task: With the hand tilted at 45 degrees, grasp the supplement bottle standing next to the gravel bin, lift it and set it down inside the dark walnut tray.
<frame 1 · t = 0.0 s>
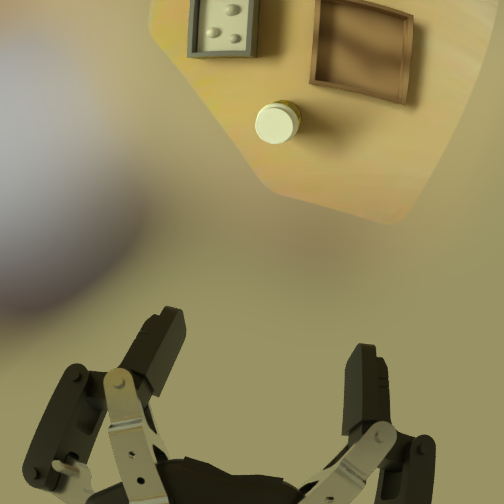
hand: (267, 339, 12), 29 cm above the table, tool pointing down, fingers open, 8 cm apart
gravel bin: (227, 25, 25), on the table
supplement bottle: (283, 116, 32), on the table
walnut tray: (360, 47, 24), on the table
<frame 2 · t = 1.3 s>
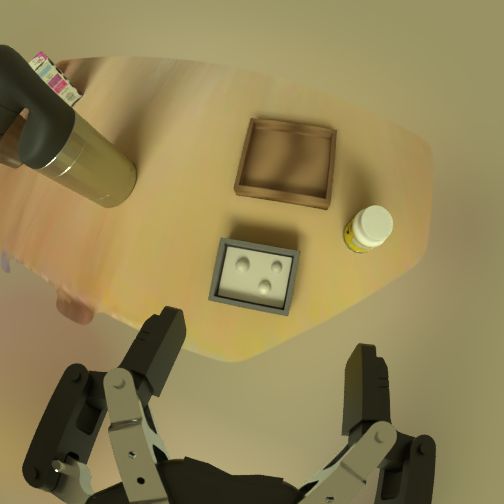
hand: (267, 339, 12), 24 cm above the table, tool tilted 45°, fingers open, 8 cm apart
gravel bin: (256, 277, 37), on the table
plant pot: (24, 148, 48), on the table
supplement bottle: (358, 237, 36), on the table
walnut tray: (287, 164, 38), on the table
candy bar box: (71, 95, 49), on the table
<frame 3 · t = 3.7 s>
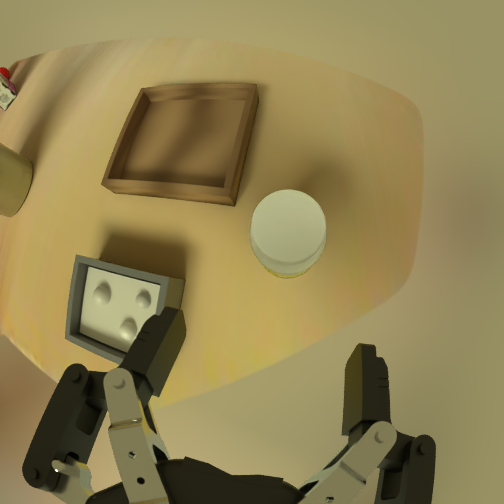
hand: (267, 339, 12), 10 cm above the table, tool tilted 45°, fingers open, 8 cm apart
gravel bin: (129, 311, 23), on the table
supplement bottle: (287, 250, 22), on the table
walnut tray: (184, 143, 25), on the table
tomato: (1, 88, 39), on the table
candy bar box: (10, 97, 35), on the table
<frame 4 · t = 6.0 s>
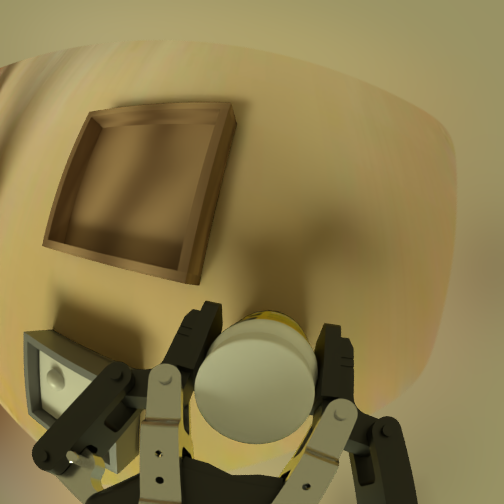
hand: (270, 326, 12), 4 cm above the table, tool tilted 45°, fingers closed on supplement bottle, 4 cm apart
gravel bin: (89, 393, 17), on the table
supplement bottle: (267, 347, 16), on the table, touching gripper
walnut tray: (137, 188, 19), on the table
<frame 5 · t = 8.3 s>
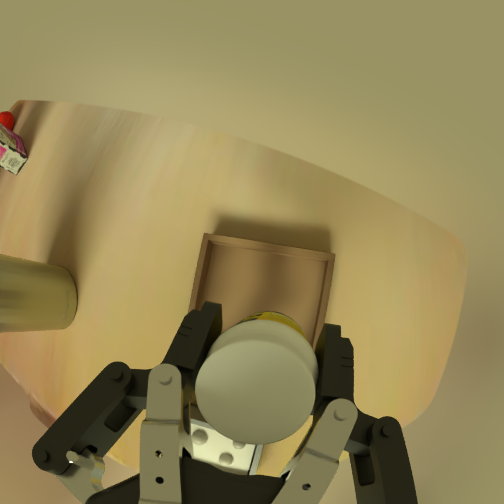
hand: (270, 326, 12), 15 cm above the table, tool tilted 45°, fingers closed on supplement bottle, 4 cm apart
gravel bin: (219, 439, 26), on the table
supplement bottle: (268, 347, 16), point 11 cm above the table, touching gripper
walnut tray: (259, 304, 28), on the table
tomato: (6, 134, 43), on the table
candy bar box: (19, 155, 39), on the table
when the fingers open (6 cm above the table, at t = 10.9 s): supplement bottle drops 1 cm, resting on walnut tray.
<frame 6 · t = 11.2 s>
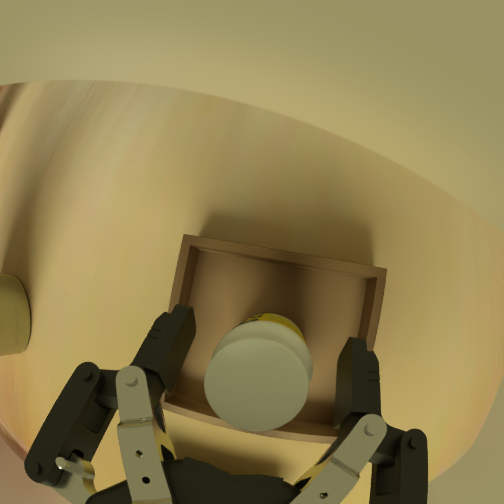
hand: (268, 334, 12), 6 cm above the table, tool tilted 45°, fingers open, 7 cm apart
supplement bottle: (268, 346, 18), resting on walnut tray
walnut tray: (268, 342, 18), on the table
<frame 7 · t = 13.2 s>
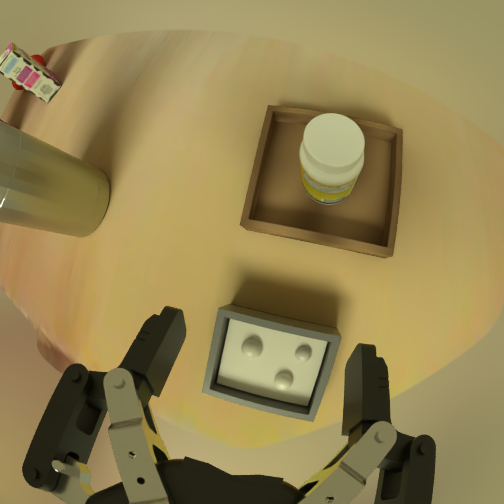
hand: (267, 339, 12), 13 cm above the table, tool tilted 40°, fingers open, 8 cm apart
gravel bin: (273, 357, 24), on the table
supplement bottle: (327, 181, 24), resting on walnut tray
walnut tray: (327, 180, 24), on the table
tomato: (35, 76, 41), on the table
candy bar box: (51, 87, 37), on the table
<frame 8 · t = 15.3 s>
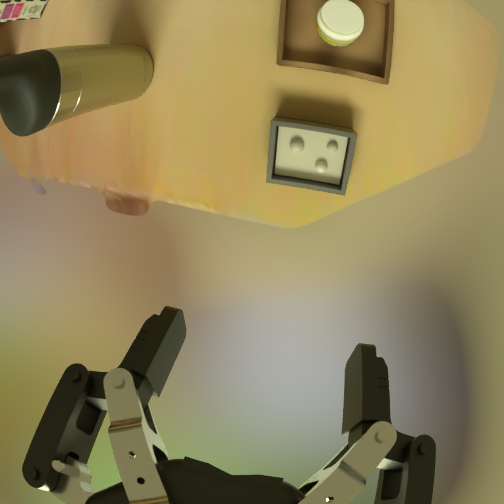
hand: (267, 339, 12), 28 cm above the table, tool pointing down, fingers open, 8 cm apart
gravel bin: (310, 151, 33), on the table
supplement bottle: (336, 31, 22), resting on walnut tray
walnut tray: (335, 30, 23), on the table
candy bar box: (35, 5, 20), on the table
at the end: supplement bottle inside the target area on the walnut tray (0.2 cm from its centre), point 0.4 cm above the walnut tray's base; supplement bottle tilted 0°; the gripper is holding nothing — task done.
